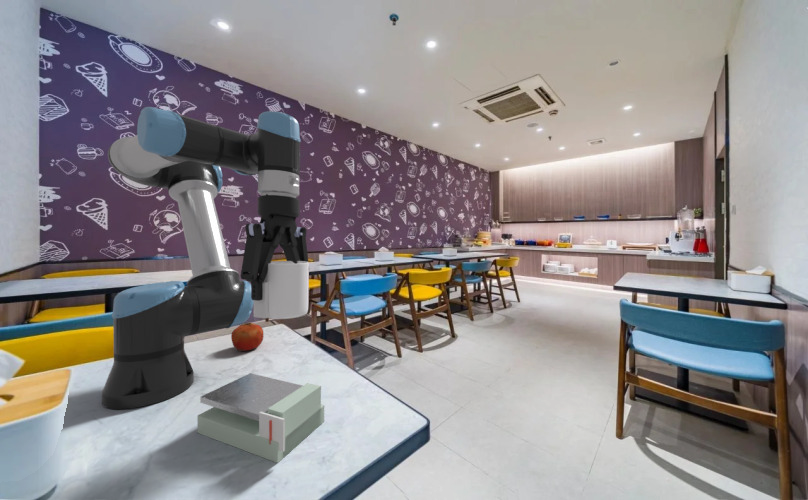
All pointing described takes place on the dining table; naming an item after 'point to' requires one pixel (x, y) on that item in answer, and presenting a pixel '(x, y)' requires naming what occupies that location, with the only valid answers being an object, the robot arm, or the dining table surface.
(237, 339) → the tomato
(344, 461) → the dining table surface
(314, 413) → the scale base
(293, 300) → the cup
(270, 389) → the speckled metal plate
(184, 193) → the robot arm
